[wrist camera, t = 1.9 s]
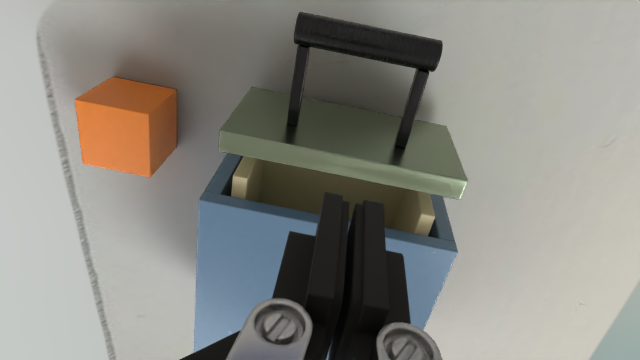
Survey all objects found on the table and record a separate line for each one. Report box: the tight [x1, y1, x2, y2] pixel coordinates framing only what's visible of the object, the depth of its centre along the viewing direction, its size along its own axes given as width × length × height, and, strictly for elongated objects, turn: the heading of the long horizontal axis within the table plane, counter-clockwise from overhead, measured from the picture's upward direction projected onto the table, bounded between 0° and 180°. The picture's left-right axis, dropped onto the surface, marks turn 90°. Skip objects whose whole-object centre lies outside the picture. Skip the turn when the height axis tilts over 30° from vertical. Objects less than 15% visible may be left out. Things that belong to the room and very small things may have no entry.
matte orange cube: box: [75, 77, 177, 177], centre depth 28 cm, size 4×4×4 cm
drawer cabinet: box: [193, 153, 458, 360], centre depth 30 cm, size 16×14×9 cm
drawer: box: [218, 12, 468, 236], centre depth 27 cm, size 20×13×7 cm, turn 170°
